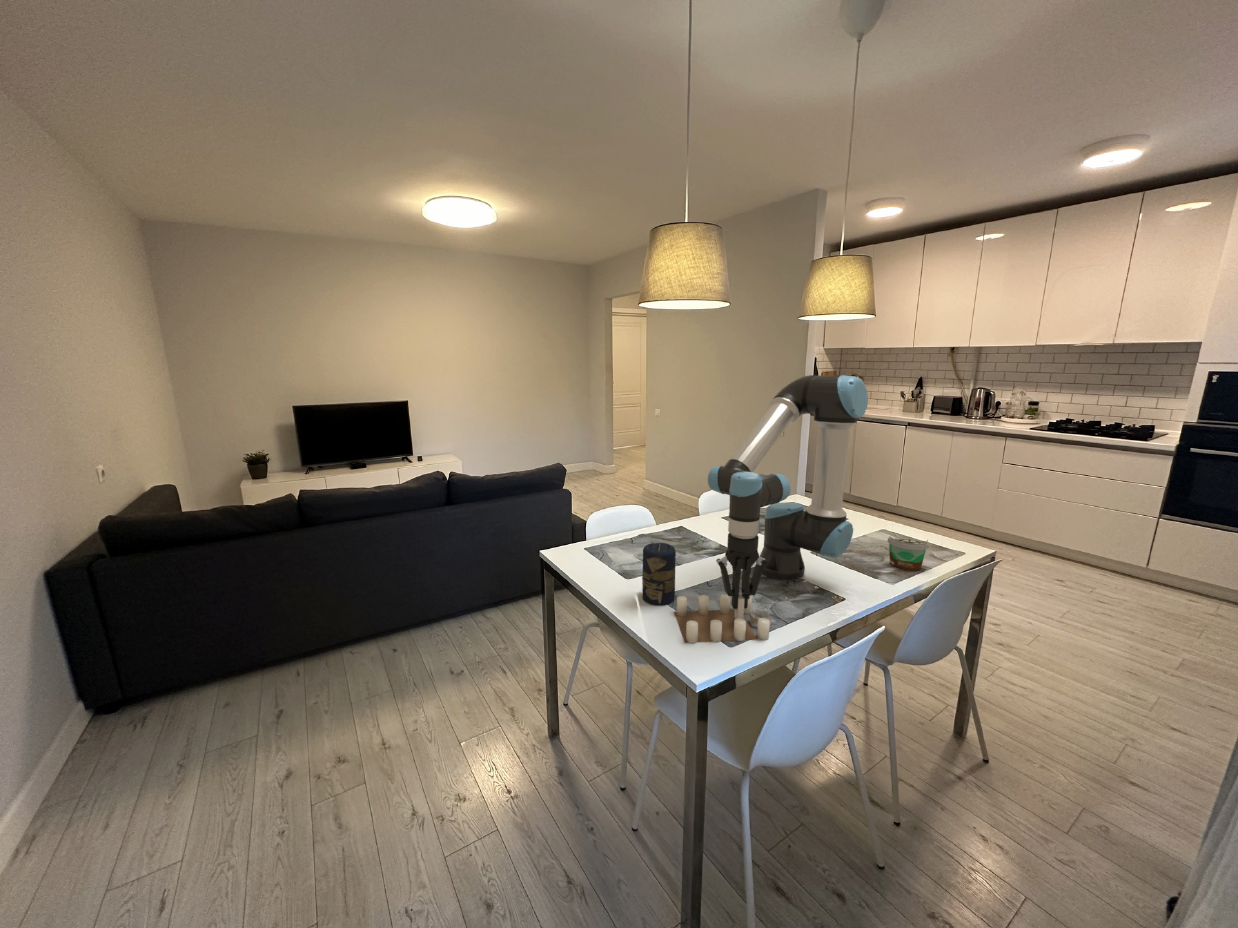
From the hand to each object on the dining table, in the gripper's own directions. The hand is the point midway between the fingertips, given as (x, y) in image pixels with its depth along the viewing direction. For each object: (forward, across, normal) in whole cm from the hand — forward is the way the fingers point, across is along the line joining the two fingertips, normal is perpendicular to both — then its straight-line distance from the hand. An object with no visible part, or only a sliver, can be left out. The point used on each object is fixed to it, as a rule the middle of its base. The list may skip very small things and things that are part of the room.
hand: (738, 619), depth 125 cm
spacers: (+2, +5, 0) cm, 5 cm away
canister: (+3, +19, -16) cm, 25 cm away
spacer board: (+3, +3, 0) cm, 4 cm away
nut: (+2, -6, 0) cm, 6 cm away
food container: (+2, -68, -32) cm, 75 cm away
